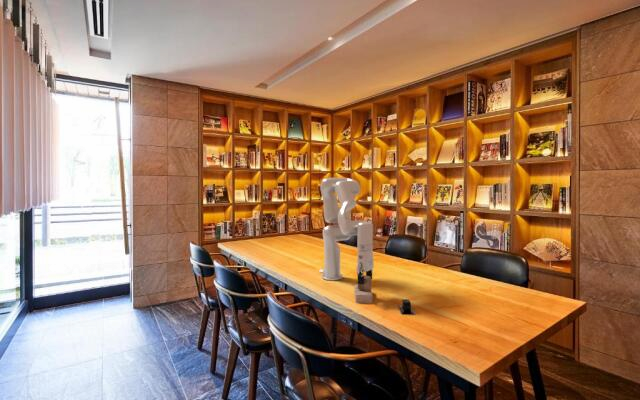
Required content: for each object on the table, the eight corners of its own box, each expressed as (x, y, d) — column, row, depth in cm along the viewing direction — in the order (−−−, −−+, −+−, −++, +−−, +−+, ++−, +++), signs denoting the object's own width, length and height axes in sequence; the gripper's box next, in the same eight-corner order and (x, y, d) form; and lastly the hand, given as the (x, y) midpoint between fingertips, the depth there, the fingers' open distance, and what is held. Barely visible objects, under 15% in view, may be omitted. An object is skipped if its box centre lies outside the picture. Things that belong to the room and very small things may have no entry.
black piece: (395, 305, 152) (395, 295, 152) (412, 306, 152) (412, 295, 151) (400, 317, 139) (400, 306, 139) (418, 317, 139) (418, 306, 138)
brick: (372, 304, 154) (372, 294, 154) (355, 303, 155) (355, 294, 155) (370, 293, 171) (370, 284, 171) (354, 292, 171) (354, 283, 171)
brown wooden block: (357, 289, 162) (357, 277, 162) (362, 286, 166) (362, 275, 166) (367, 291, 159) (367, 278, 159) (371, 288, 163) (371, 276, 163)
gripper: (364, 251, 153) (364, 287, 153) (378, 245, 167) (378, 278, 168) (350, 249, 157) (350, 284, 157) (365, 243, 171) (365, 276, 172)
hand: (365, 281), depth 163 cm, fingers open, 9 cm apart
